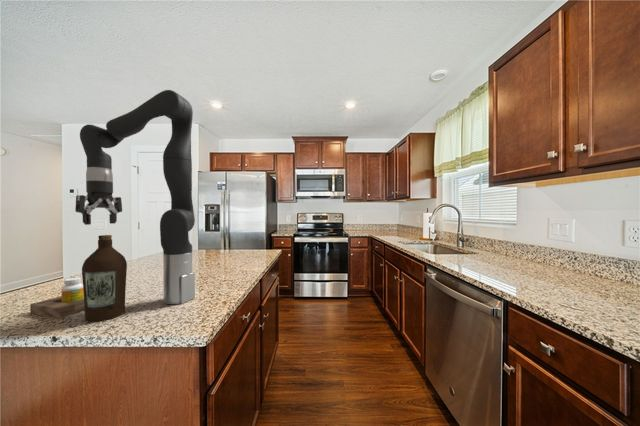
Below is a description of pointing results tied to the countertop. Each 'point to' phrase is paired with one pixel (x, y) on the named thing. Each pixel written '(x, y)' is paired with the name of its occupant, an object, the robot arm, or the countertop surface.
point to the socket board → (57, 308)
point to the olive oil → (104, 282)
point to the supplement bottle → (72, 290)
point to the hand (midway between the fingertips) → (100, 224)
